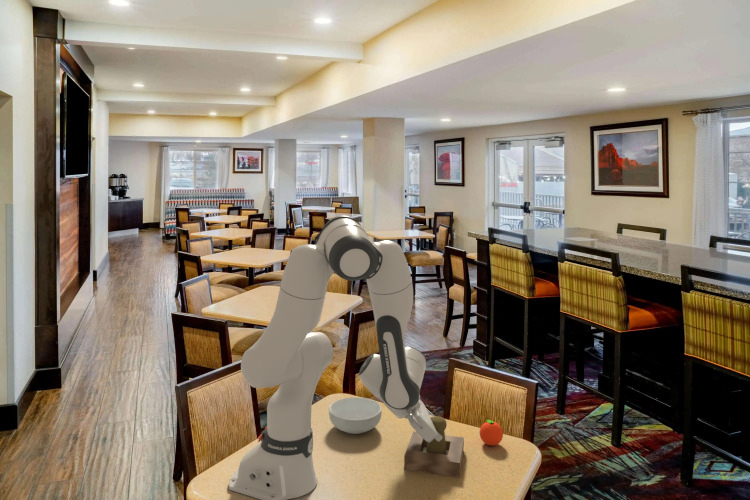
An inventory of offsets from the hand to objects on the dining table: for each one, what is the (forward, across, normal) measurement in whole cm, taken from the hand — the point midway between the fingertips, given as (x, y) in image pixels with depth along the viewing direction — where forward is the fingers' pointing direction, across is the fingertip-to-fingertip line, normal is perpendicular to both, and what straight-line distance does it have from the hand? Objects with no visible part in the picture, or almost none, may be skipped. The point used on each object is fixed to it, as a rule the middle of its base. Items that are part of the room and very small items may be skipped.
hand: (438, 434), depth 153 cm
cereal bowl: (-10, +21, +21) cm, 32 cm away
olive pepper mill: (+4, 0, +5) cm, 6 cm away
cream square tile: (+5, 0, +6) cm, 7 cm away
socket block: (+5, 0, +6) cm, 8 cm away
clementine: (+18, +9, -7) cm, 21 cm away
